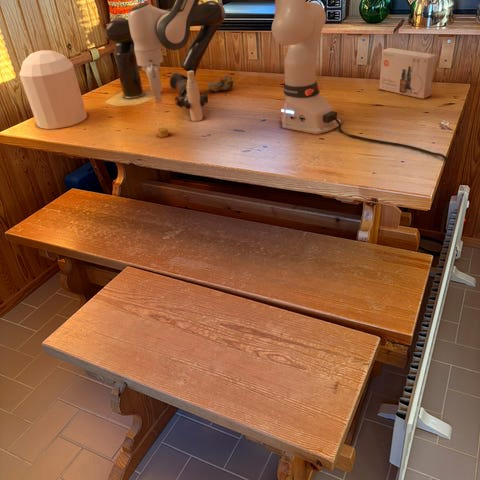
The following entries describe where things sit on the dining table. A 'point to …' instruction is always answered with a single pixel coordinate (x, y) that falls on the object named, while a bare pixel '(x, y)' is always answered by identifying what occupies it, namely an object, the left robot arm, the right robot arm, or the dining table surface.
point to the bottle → (194, 97)
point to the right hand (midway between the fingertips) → (158, 98)
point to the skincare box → (407, 72)
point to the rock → (221, 84)
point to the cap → (162, 132)
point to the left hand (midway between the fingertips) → (196, 105)
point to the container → (52, 90)
